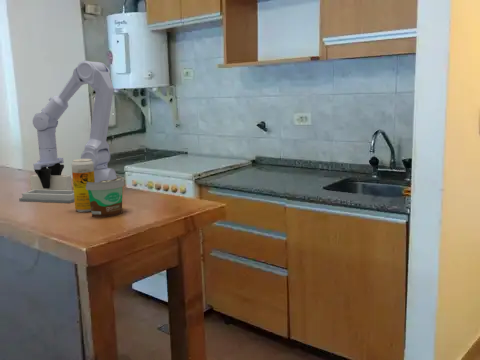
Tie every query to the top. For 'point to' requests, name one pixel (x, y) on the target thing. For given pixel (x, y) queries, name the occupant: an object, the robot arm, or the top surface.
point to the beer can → (82, 183)
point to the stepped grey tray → (48, 196)
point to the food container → (106, 197)
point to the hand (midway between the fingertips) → (51, 186)
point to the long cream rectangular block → (52, 182)
